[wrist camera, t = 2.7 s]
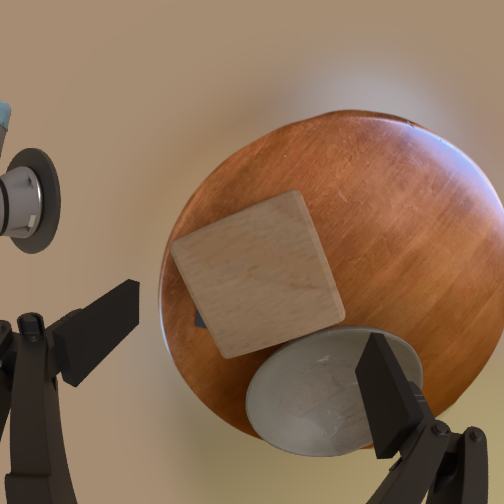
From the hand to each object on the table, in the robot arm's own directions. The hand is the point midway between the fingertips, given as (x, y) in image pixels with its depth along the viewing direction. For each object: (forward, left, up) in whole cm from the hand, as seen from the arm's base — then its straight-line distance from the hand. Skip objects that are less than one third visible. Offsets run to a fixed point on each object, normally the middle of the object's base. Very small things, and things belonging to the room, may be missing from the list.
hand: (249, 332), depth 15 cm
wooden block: (0, 0, -25) cm, 25 cm away
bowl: (+15, -21, -25) cm, 36 cm away
